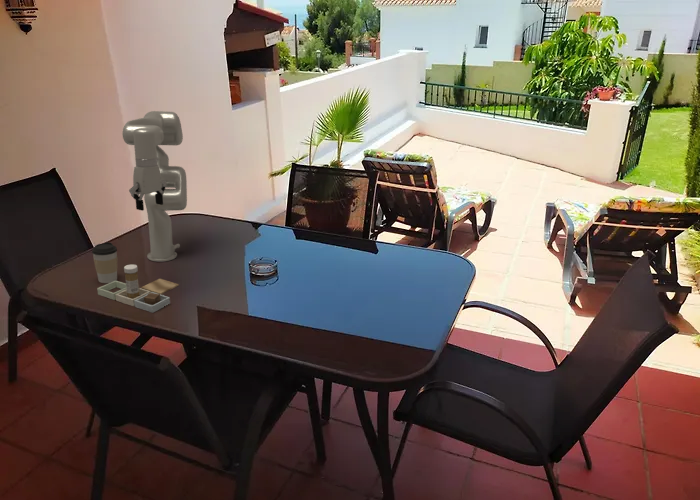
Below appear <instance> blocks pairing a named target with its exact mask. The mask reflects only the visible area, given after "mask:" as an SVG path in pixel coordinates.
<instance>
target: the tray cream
mask: <svg viewBox="0 0 700 500" xmlns="http://www.w3.org/2000/svg"><path fill="white" fill-rule="evenodd" d="M149 293H151V292H150V291H148V290H144V289H141V287H139V294H140V296H138V297H136V298H134V299H131V298H128V296H127V289H126V290H124V291H122V292H120V293H117V294H116V301H115V302H120V303H122V304H125V305H128V306H131V307H135V300H137V299H139V298H141V297H143V296H145V295H147V294H149Z"/></svg>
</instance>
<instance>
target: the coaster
mask: <svg viewBox="0 0 700 500" xmlns="http://www.w3.org/2000/svg"><path fill="white" fill-rule="evenodd" d="M179 286H180V284H179V283H176V282H172V281H170V280H166V279H163V278H158V279H156V280H154V281H151V282H149V283H148V284H145V285H143V286H141V287H140V288H141V289H144V290H148V291H150V292H154V293H157V294H160V295H164V293H167V292H169V291H170V290H172V289H175V288H176V287H179Z"/></svg>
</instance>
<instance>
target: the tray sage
mask: <svg viewBox="0 0 700 500" xmlns="http://www.w3.org/2000/svg"><path fill="white" fill-rule="evenodd" d="M116 288H117V289H120V290H116V291H115V292H112V290H113V289H116ZM96 289H97V295H98V296H101V297H103V298H104V297H105V298H108V299H110V300H113V301H115V300H116V294H117V293H120V292H122V291H124V290H126V289H127V288H126V282H122V281H118V280H116V281H113V282H111V283H105V284H104V285H102V286H99V287H97V288H96Z"/></svg>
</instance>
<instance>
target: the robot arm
mask: <svg viewBox="0 0 700 500" xmlns="http://www.w3.org/2000/svg"><path fill="white" fill-rule="evenodd" d="M121 134H122V139H123V141H124V143H125V144H126V145H130V146H134V156H135V157H134V159H135V166H134V167H133V175H132V176H133V177H132V181H133V182H132V183H133V184H132V186H131V188H129V190H128V191H129V193H130V194H129V195H130V196H131V197H132V198H133V199H134V200H135V206H136V207H135V210H138V211H142V212H143V211H144V210H145V209H146V213H147V223H148V234H149V244H150V245H149V246H150V248H149V249H150V252H148V253H147V255H146V256H147V259H148V260H150V261H152V262H160V263H161V262H169V261H172V260H174V259H175V258H177V257H178V253H177V251H176V249H179V248H181V244H180V243H176V244H173V230H172V219H171V216H170V215H169V214H168V213H167V212H169V211H170V212H171V211H184V210H185V209H186V208H187V203H188V202H187V201H188V197H187V196H188V195H187V194H188V185H187V173H186V170H185V169H184V167H182V166H178V165H177V166H176V165H170V163H169V162H170V159H169V156H168V154H167V152H166V151H164V149H163V148H161V147H160V146H179V145H181V144H182V142H183V140H184V139H183V138H184V136H183V130H182V124H181V119H180V116H178V114H177V113H176V112H174V111H163V110H162V111H161V110H157V111H156V110H151V111H148V112H147V113H146V114H144V116H143V117H140V118H136V119H131V120H128V121H127V122H126V123H125V125H124V127H123V128H122V133H121ZM143 198H144V200H143ZM144 203H145V204H144ZM144 205H145V206H144ZM144 207H145V208H144ZM166 211H167V212H166Z"/></svg>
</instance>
